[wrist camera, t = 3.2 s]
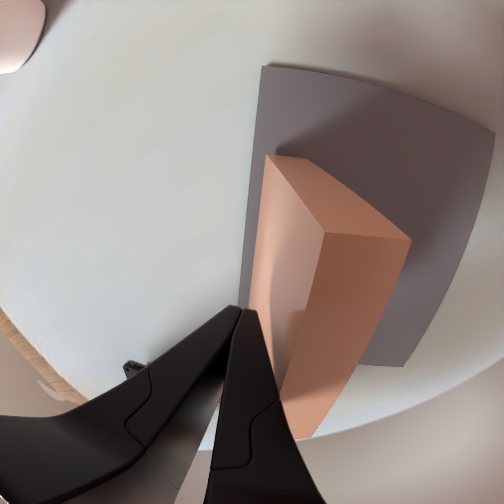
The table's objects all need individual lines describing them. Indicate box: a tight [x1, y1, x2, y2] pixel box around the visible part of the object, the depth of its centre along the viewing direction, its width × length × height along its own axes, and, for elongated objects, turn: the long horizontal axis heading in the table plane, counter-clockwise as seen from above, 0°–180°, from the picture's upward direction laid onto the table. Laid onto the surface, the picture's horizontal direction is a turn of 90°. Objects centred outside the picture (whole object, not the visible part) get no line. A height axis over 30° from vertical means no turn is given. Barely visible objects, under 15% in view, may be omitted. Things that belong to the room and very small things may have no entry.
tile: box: [249, 154, 412, 439], centre depth 10 cm, size 8×2×8 cm, turn 174°
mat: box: [238, 66, 495, 367], centre depth 13 cm, size 16×12×1 cm
